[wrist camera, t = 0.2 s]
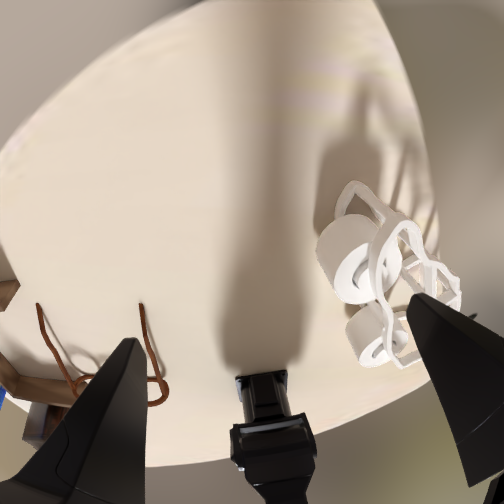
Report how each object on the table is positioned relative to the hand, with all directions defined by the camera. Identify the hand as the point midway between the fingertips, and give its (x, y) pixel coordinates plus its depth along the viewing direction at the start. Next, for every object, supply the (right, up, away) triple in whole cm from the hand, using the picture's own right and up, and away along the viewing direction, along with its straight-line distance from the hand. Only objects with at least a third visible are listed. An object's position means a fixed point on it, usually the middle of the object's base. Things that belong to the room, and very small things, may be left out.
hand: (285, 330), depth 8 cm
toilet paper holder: (+11, +1, +18) cm, 22 cm away
